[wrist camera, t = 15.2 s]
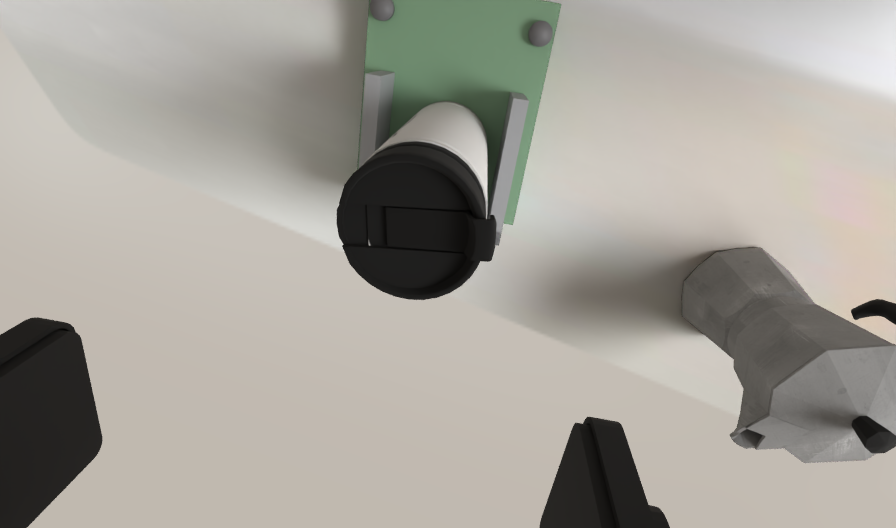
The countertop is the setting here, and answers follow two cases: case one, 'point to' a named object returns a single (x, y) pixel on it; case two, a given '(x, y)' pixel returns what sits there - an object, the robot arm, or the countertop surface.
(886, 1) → the countertop surface
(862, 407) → the coffeepot
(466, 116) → the travel mug
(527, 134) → the green backplate cradle
